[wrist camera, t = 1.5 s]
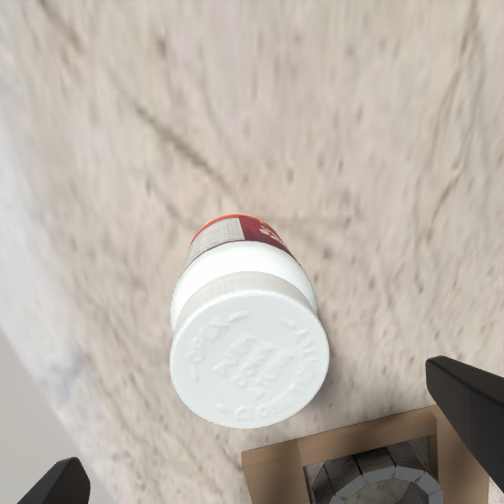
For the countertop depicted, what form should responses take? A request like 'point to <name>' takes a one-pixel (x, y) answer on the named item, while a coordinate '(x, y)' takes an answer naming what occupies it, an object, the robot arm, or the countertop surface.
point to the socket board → (370, 463)
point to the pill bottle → (245, 327)
